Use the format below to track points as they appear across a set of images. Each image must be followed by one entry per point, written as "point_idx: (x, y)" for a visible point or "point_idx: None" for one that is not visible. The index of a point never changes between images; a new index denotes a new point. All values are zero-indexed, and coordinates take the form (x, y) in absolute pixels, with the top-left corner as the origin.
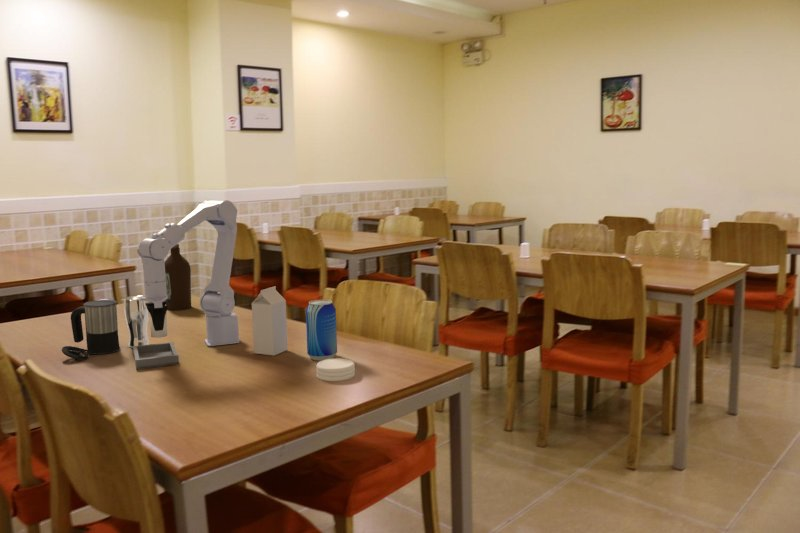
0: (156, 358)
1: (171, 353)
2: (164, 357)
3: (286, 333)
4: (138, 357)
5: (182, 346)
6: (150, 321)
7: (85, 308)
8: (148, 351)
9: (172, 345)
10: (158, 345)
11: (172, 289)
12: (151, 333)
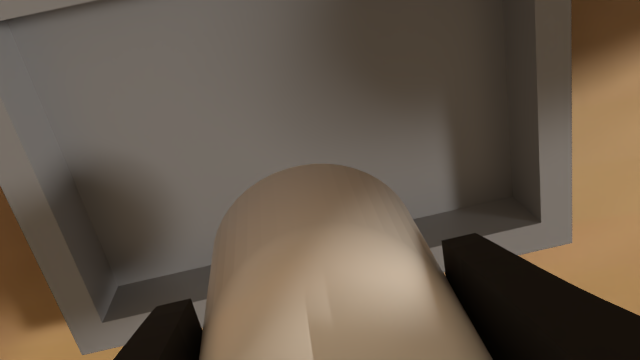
0: (8, 192)
1: None
2: (37, 255)
3: None
4: (35, 5)
5: (623, 254)
6: (302, 309)
7: None
8: (506, 23)
9: (439, 261)
10: (532, 127)
11: None
12: (258, 204)
